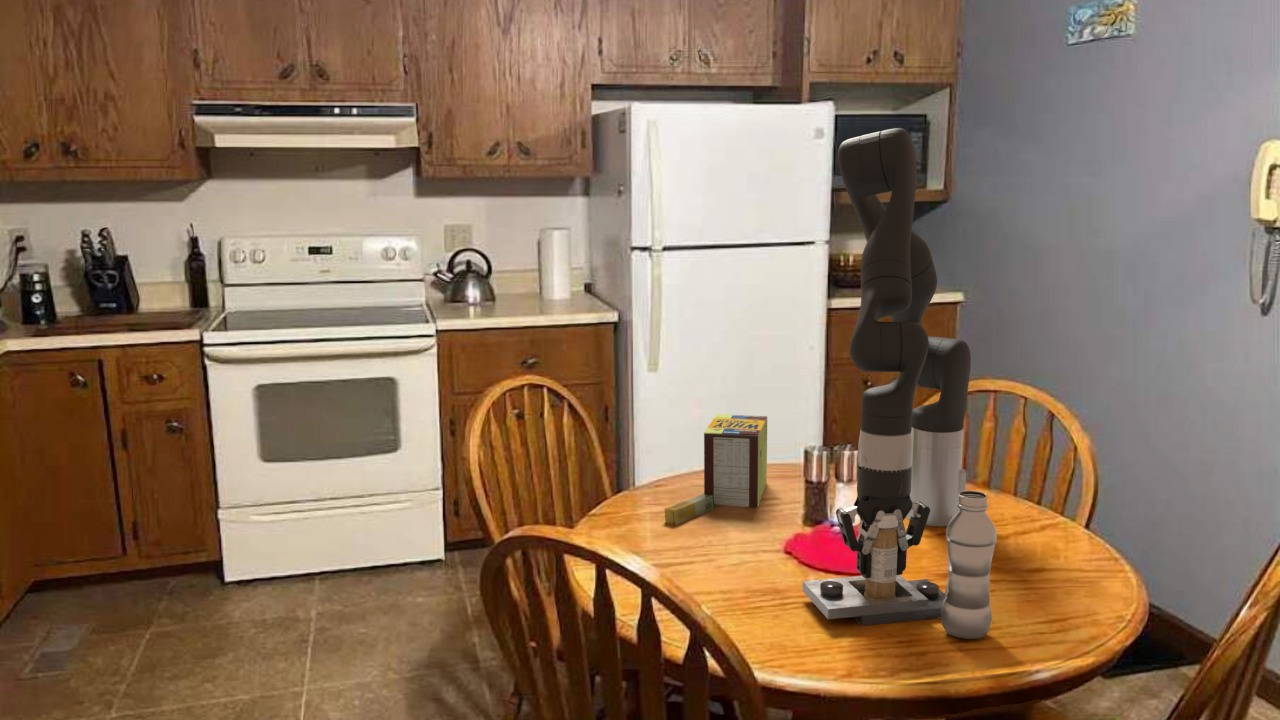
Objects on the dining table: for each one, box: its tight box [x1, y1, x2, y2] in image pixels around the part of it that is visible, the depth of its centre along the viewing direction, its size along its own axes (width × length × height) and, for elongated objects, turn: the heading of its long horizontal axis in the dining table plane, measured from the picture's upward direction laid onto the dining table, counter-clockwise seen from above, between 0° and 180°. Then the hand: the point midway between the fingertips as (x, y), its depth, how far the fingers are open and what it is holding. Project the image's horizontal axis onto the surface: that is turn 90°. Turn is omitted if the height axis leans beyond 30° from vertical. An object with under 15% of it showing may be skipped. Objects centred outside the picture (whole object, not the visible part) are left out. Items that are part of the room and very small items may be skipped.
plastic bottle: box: [940, 490, 998, 640], centre depth 135 cm, size 6×7×20 cm
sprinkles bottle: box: [864, 513, 898, 600], centre depth 144 cm, size 5×5×14 cm
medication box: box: [664, 493, 716, 527], centre depth 182 cm, size 12×3×4 cm, turn 140°
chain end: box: [852, 578, 945, 627], centre depth 146 cm, size 15×10×3 cm, turn 101°
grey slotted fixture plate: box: [801, 575, 928, 620], centre depth 145 cm, size 15×10×3 cm, turn 101°
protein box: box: [703, 413, 768, 508], centre depth 193 cm, size 10×15×16 cm
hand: (880, 574), depth 145 cm, fingers closed on sprinkles bottle, 4 cm apart
